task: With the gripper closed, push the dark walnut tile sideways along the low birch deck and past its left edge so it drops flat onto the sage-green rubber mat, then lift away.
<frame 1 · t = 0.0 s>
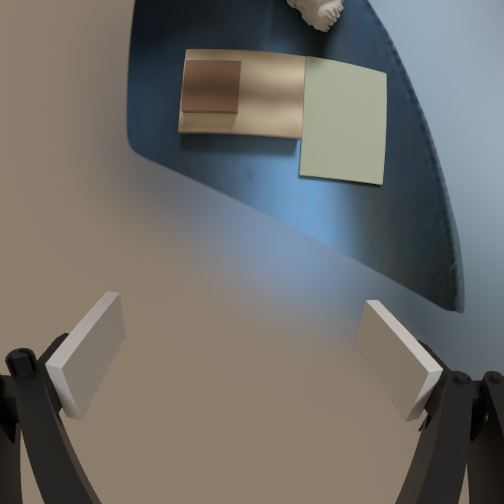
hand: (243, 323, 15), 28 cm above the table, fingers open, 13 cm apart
sage mat: (345, 119, 38), on the table
birch deck: (242, 94, 37), on the table
walnut tile: (212, 88, 34), point 2 cm above the table, touching birch deck
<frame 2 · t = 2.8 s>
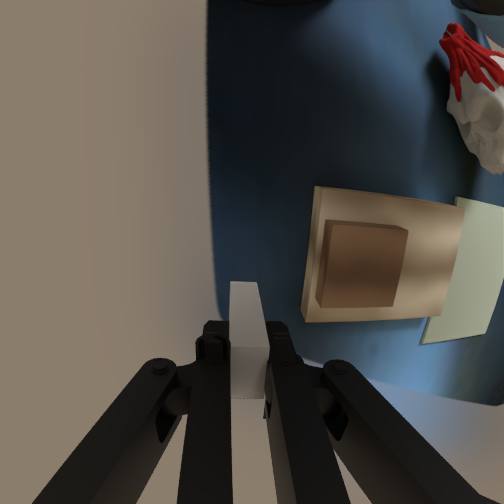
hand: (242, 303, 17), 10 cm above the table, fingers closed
sage mat: (475, 274, 29), on the table
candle: (460, 93, 23), on the table
birch deck: (383, 254, 28), on the table
walnut tile: (357, 261, 25), point 2 cm above the table, touching birch deck
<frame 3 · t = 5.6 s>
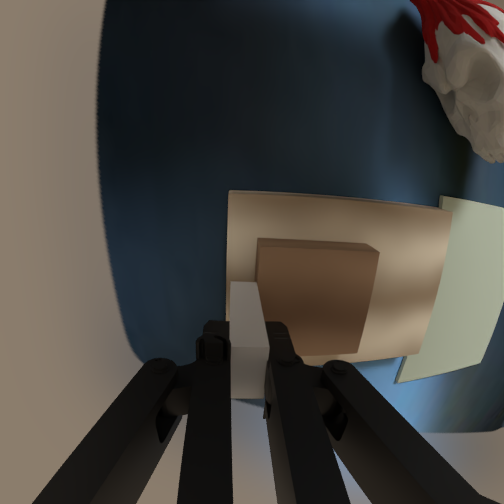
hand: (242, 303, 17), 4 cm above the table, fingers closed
sage mat: (468, 295, 23), on the table
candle: (442, 60, 17), on the table
birch deck: (336, 278, 21), on the table
walnut tile: (308, 293, 19), point 3 cm above the table
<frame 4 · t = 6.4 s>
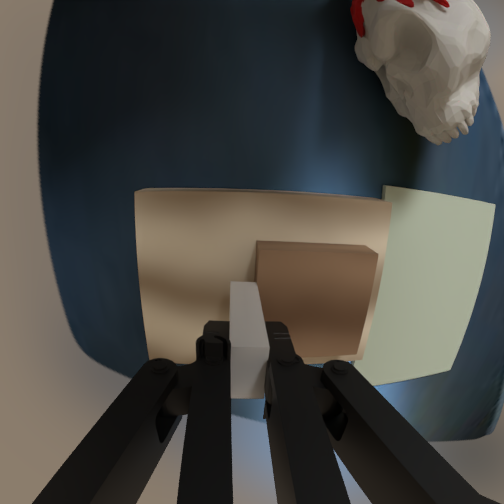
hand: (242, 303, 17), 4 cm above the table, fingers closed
sage mat: (428, 297, 23), on the table
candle: (387, 39, 17), on the table
birch deck: (261, 275, 21), on the table
walnut tile: (307, 295, 19), point 3 cm above the table, touching gripper
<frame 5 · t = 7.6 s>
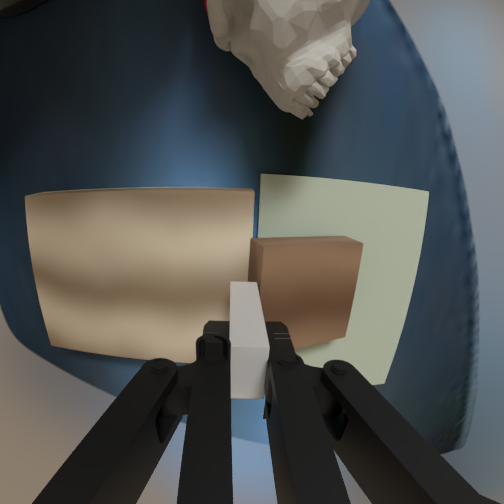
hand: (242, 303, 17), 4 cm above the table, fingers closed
sage mat: (338, 300, 22), on the table
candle: (274, 16, 16), on the table
birch deck: (137, 271, 20), on the table
walnut tile: (296, 287, 20), point 2 cm above the table, tilted 17°, touching gripper
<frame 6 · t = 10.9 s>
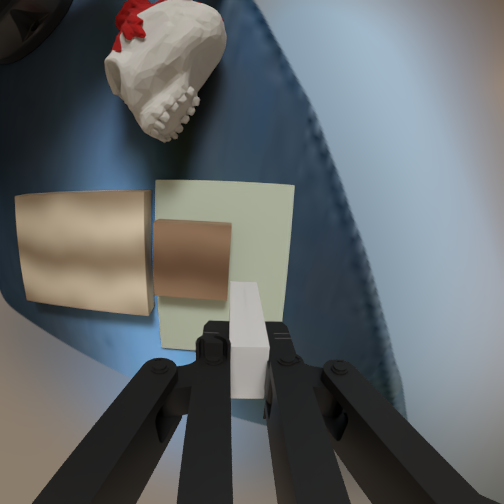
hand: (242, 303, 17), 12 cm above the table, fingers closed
sage mat: (220, 273, 30), on the table
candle: (171, 63, 24), on the table
birch deck: (83, 247, 28), on the table
walnut tile: (193, 256, 28), resting on sage mat
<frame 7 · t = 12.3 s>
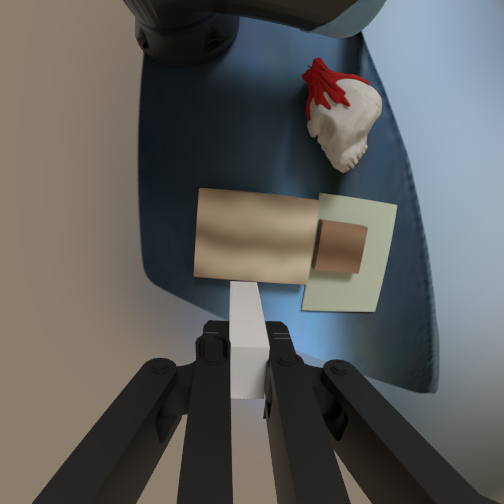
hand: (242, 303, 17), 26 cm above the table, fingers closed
sage mat: (350, 256, 44), on the table
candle: (330, 112, 38), on the table
birch deck: (254, 235, 42), on the table
walnut tile: (337, 245, 43), resting on sage mat
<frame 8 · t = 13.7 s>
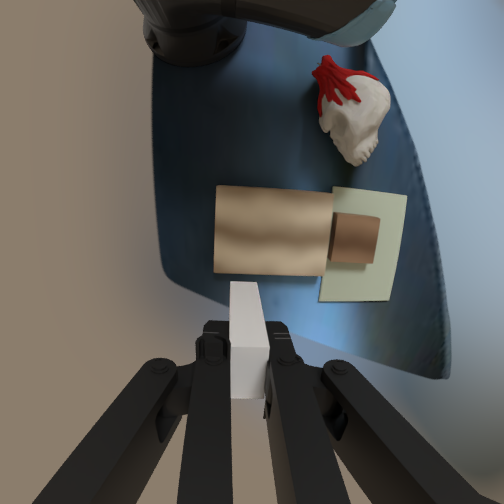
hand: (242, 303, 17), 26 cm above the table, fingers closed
sage mat: (364, 247, 45), on the table
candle: (339, 108, 39), on the table
birch deck: (271, 229, 43), on the table
walnut tile: (351, 236, 44), resting on sage mat
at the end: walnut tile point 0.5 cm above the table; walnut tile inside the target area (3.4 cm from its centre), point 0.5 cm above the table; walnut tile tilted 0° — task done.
